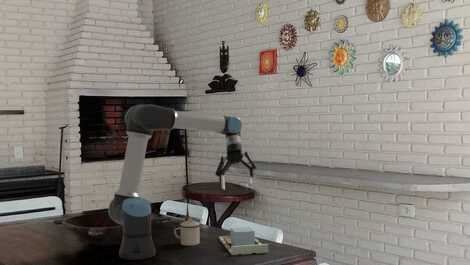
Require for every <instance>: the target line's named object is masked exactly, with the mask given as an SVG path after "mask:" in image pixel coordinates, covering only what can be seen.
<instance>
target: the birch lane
mask: <svg viewBox="0 0 470 265" xmlns="http://www.w3.org/2000/svg"><path fill="white" fill-rule="evenodd" d="M218 239H220V240H219V241H220V242H221V243H222V245H223V246H224V248H226V250H227V251H228V252H229V253H230V255H231V246H230V245H229V243H227V242H226V240H225V239H231V235H224V236H223V235H221V236H218ZM255 242H256V243H257V244H262V243H261V242H260V241H259V240H258V239H257V238H256V237H255ZM256 243H255V244H256ZM257 244H256V245H257Z"/></svg>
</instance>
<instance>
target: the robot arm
mask: <svg viewBox="0 0 470 265" xmlns="http://www.w3.org/2000/svg"><path fill="white" fill-rule="evenodd" d="M124 120H125V125H126V130H125V131H126V134H127V136H128V139H127V144H126V148H125V149H126V150H125V155H124V160H123V165H122V171H121V177H120V182H119V189H118V190H117V191H115V192H114V194H113V199H112V200H111V201H110V203H109V205H108V207H107V208H108V210H107V211H108V215H109V217H110V219H111V220H112V221H113V222H114V223H116V224H117V225H120V226H122V241H121V244H120V248H119V251H118V257H119V258H121V259H124V260H129V261H130V260H131V261H133V260H134V261H137V260H144V259H150V258H153V257H154V256H156V246H155V243H154V241H153V238H152V206H151V202H150V201H149V200H148V199H146V198H142V196H141V194H140V193H139V190H140V185H141V180H142V179H141V178H142V173H143V167H144V162H145V157H146V152H147V147H148V146H147V145H148V142H149V140H150V139H151V138H152V136H153V132H154V131H164V130H165V131H171V130H173V129H180V130H182V129H183V130H195V131H205V132H206V131H207V132H213V133H218V134H222V135H225V144H226V157H225V156H221V157H220V161H219V164H218V166H217V169H216V171H215V174H214V175H215V176H216V177H218V180H219V183H220V184H221V189H222V190H224V191H225V190H226V186H225V185H226V183H225V176H224V175H225V173H226V172H227V171H228V170H229V168H230V167H231V166H232V165H233V166H234V165H237V164H238V165H239V164H242V165H243V166H244V167H246V168H247V177H248V183H249V185H253V180H252V178H254V170H257V166H256V165H255V163H254V162H253V160H252V159H251V157H250V154H249V153H248V152H247V151H245V152H243V148H242V136H241V134H242V133H241V129H242V128H243V121H242V119H241V118H239V117H238V116H227V115H218V114H207V113H197V112H190V111H189V112H187V111H177V110H175V109H174V108H171V107H164V106H160V105H156V104H136V105H134V106H131V107H130V108H128V110H127V111H126V114H125V116H124ZM243 157H244V158H245V159H247V161H248V163H249V164H250V165H251V166H250V165H249V164H248V163H247V162H246V161H245V160H244V159H243ZM225 162H226V163H225Z"/></svg>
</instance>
